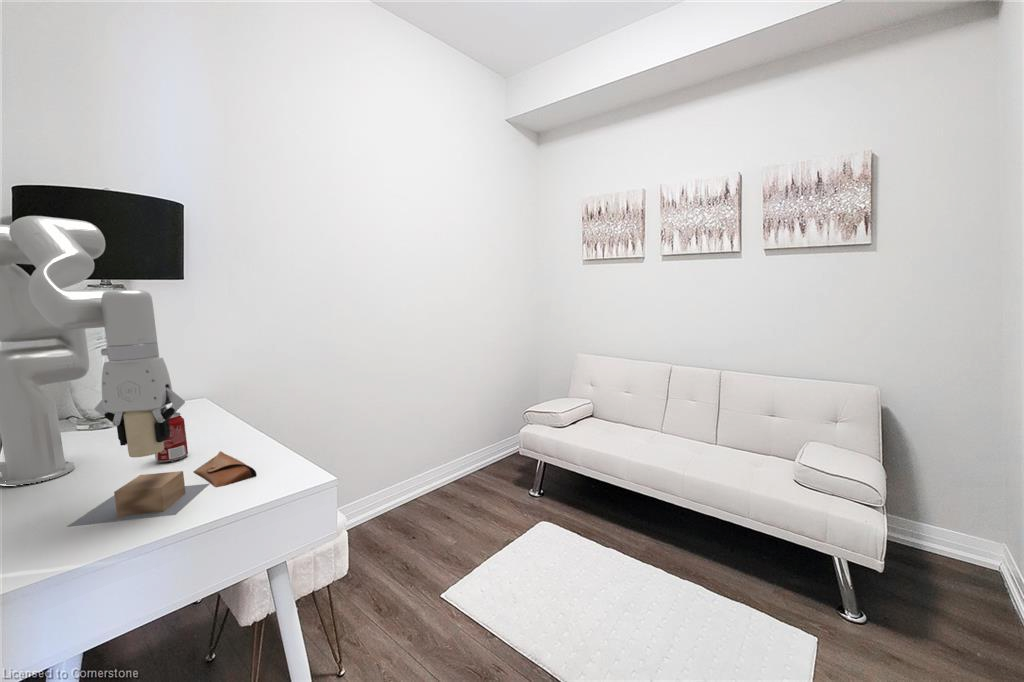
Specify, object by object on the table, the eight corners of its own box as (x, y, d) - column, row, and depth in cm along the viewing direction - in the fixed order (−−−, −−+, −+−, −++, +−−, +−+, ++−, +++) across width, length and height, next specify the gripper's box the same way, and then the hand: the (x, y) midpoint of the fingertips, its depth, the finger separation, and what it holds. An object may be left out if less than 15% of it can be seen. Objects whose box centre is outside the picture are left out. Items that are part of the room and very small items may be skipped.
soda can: (190, 458, 115) (185, 414, 114) (158, 466, 110) (152, 420, 109) (185, 452, 120) (180, 410, 118) (154, 459, 115) (148, 415, 113)
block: (117, 516, 84) (114, 491, 84) (143, 497, 92) (140, 474, 91) (164, 511, 86) (161, 487, 85) (185, 493, 94) (183, 470, 93)
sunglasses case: (186, 473, 105) (200, 446, 107) (216, 478, 111) (228, 452, 113) (217, 492, 95) (231, 462, 97) (248, 496, 100) (261, 467, 102)
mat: (67, 529, 81) (66, 526, 81) (118, 495, 95) (118, 492, 95) (175, 517, 84) (175, 514, 84) (210, 486, 98) (209, 483, 98)
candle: (144, 458, 84) (137, 408, 83) (121, 457, 85) (114, 407, 84) (171, 448, 90) (165, 401, 89) (149, 447, 91) (143, 400, 90)
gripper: (67, 358, 80) (81, 452, 82) (172, 353, 83) (183, 444, 85) (97, 352, 87) (109, 439, 89) (192, 348, 91) (202, 432, 93)
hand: (145, 440), depth 87 cm, fingers closed on candle, 5 cm apart
